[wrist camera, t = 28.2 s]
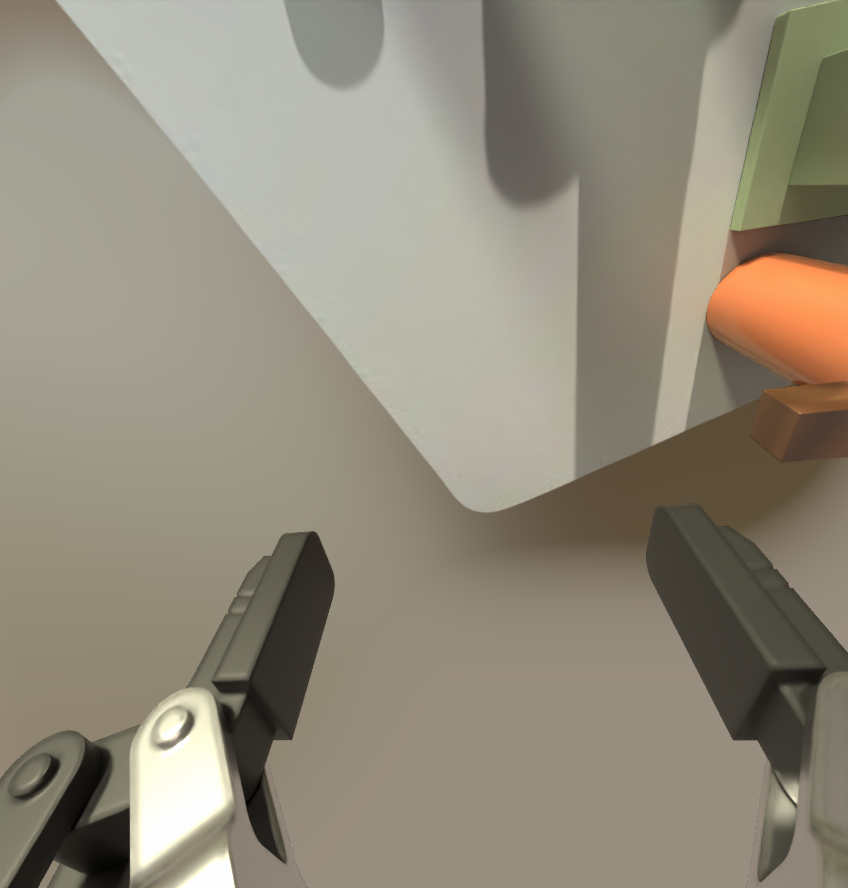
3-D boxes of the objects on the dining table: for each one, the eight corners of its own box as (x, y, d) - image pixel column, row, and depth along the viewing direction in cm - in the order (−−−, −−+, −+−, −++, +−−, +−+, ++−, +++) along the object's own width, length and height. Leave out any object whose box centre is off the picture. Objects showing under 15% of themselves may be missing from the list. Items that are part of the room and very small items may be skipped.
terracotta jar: (748, 239, 37) (1006, 284, 20) (831, 269, 38) (1146, 336, 21) (687, 331, 42) (852, 432, 25) (762, 356, 43) (972, 470, 26)
